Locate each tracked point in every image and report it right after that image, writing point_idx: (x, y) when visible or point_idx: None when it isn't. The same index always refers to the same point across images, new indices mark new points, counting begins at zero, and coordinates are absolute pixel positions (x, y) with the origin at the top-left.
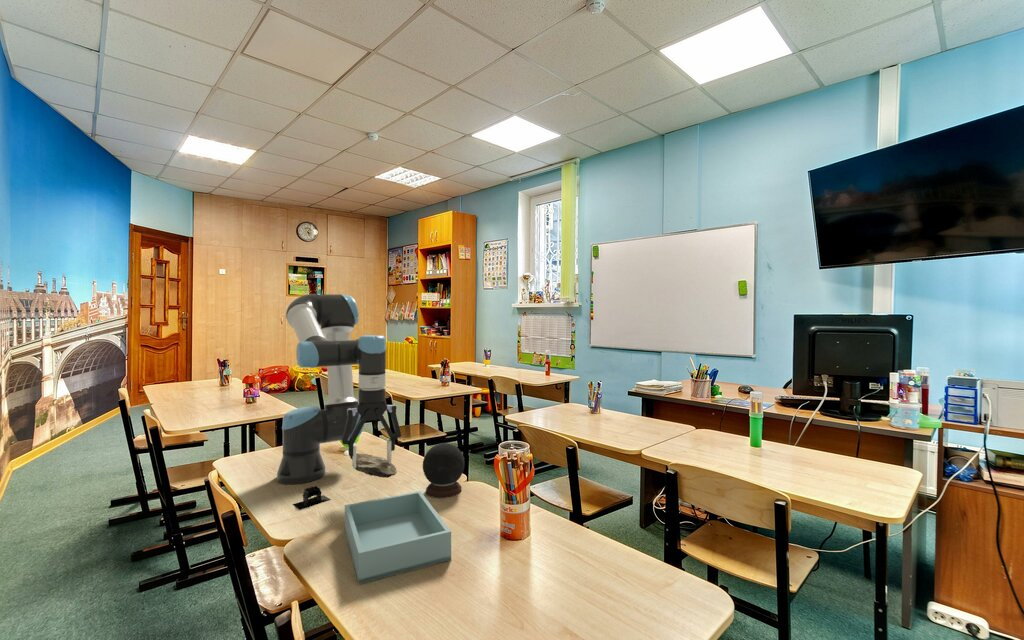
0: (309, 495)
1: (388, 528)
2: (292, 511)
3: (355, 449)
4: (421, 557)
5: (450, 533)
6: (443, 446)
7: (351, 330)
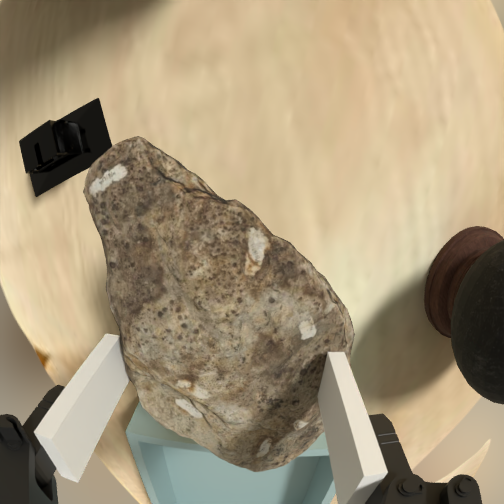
0: (39, 166)
1: None
2: (23, 199)
3: (82, 460)
4: None
5: None
6: None
7: None
